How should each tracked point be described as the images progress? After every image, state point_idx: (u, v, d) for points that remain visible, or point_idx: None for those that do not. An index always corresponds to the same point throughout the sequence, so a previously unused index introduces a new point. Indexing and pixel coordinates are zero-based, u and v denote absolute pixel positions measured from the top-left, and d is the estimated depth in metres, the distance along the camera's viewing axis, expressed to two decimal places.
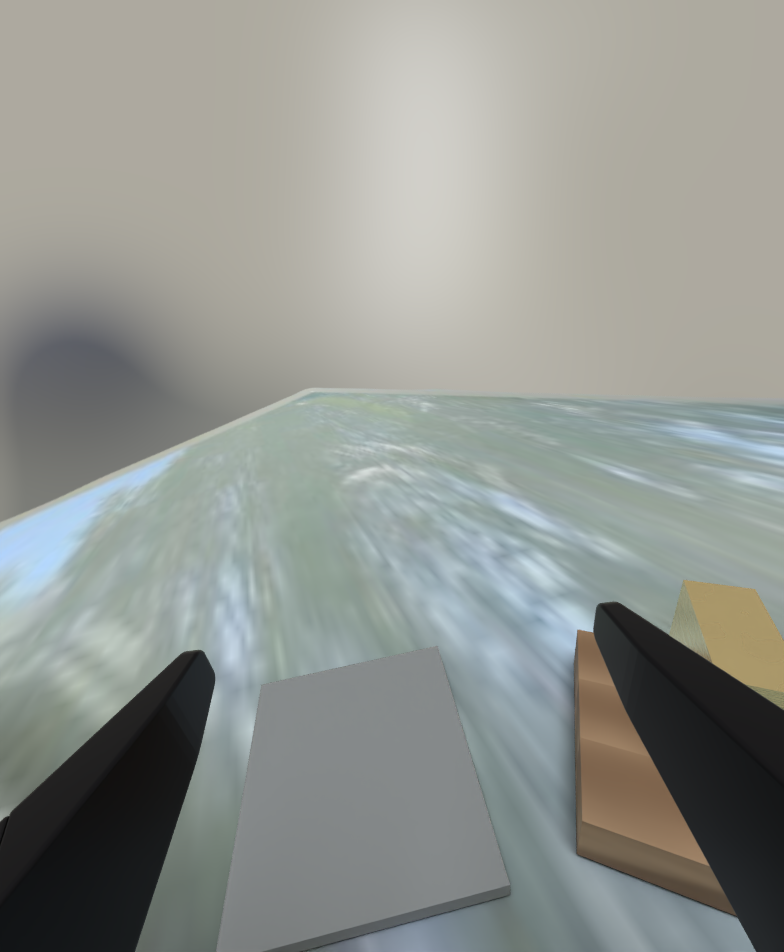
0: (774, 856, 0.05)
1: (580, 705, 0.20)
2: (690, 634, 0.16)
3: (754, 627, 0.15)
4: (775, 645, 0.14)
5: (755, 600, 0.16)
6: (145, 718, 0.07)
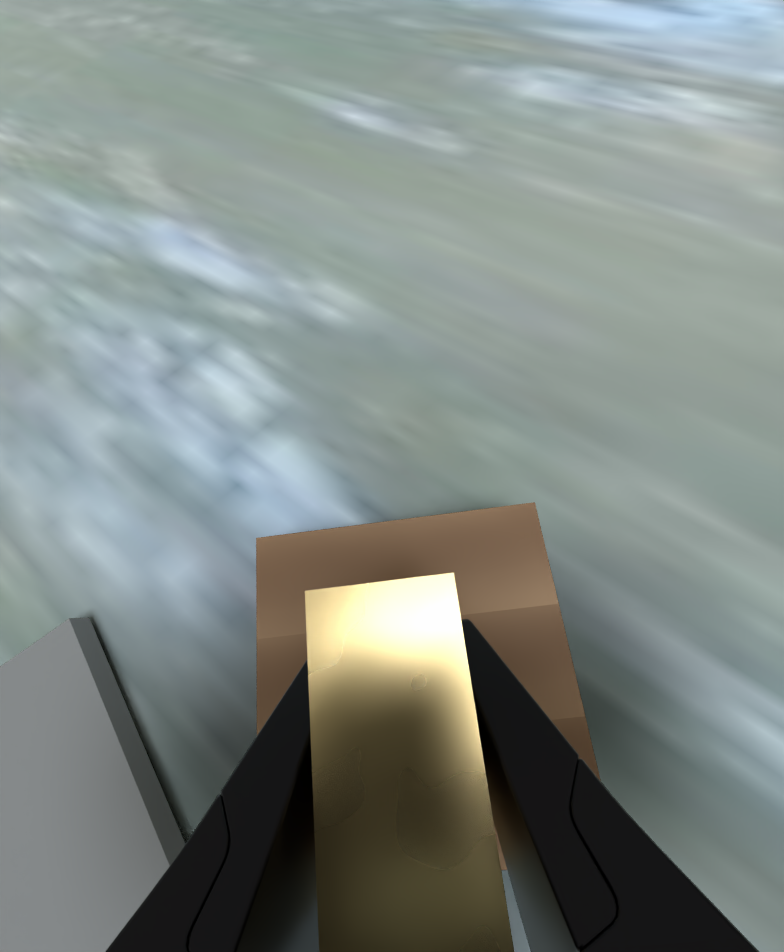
0: (527, 879, 0.05)
1: (257, 691, 0.12)
2: None
3: (430, 734, 0.06)
4: (465, 792, 0.06)
5: (447, 618, 0.06)
6: None
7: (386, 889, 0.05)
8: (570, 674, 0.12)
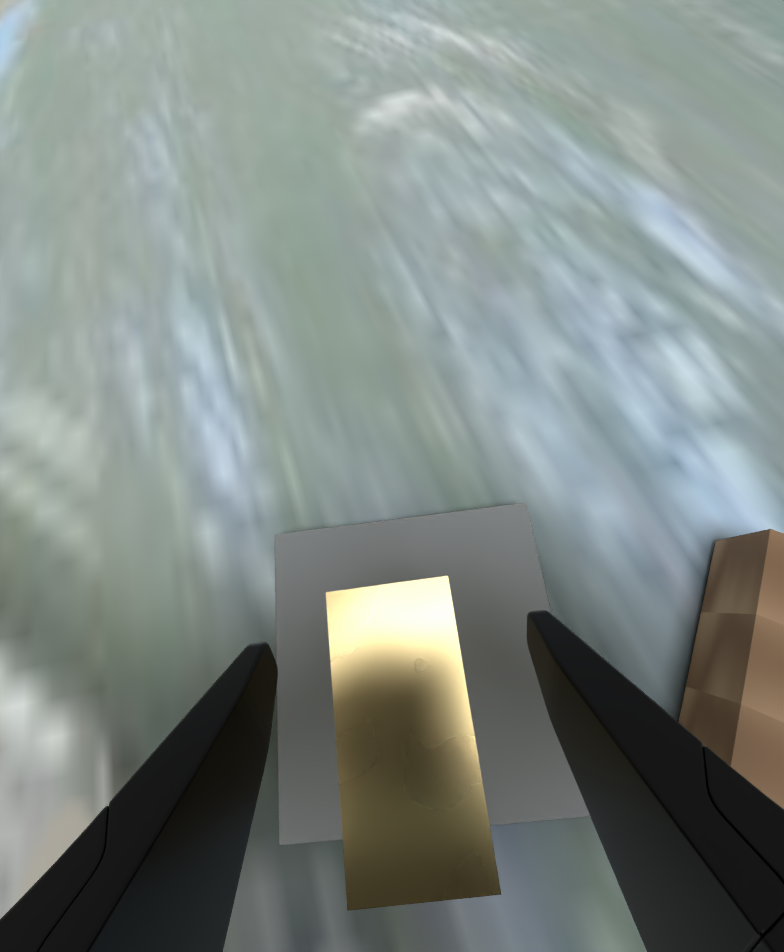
0: (656, 868, 0.05)
1: (750, 657, 0.14)
2: None
3: (430, 706, 0.07)
4: (458, 750, 0.07)
5: (443, 613, 0.08)
6: (226, 709, 0.07)
7: (397, 826, 0.07)
8: None
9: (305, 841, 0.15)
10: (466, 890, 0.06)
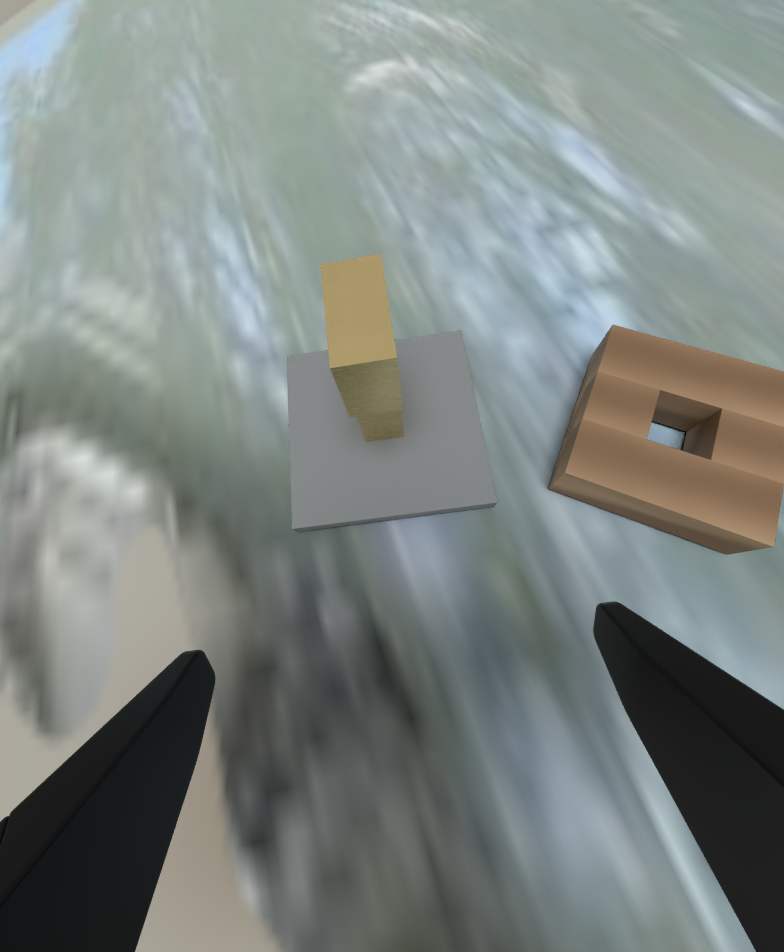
0: (774, 858, 0.05)
1: (591, 394, 0.22)
2: None
3: (369, 300, 0.15)
4: (381, 314, 0.15)
5: (378, 268, 0.16)
6: (145, 718, 0.07)
7: (352, 341, 0.15)
8: (783, 463, 0.20)
9: (309, 526, 0.23)
10: (382, 362, 0.14)
